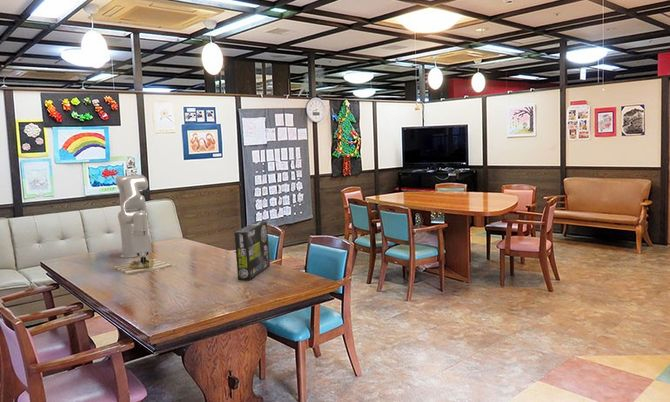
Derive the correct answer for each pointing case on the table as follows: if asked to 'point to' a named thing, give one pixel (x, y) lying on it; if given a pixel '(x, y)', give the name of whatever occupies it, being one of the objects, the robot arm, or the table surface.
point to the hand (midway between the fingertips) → (143, 263)
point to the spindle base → (130, 271)
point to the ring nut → (148, 264)
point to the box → (252, 250)
